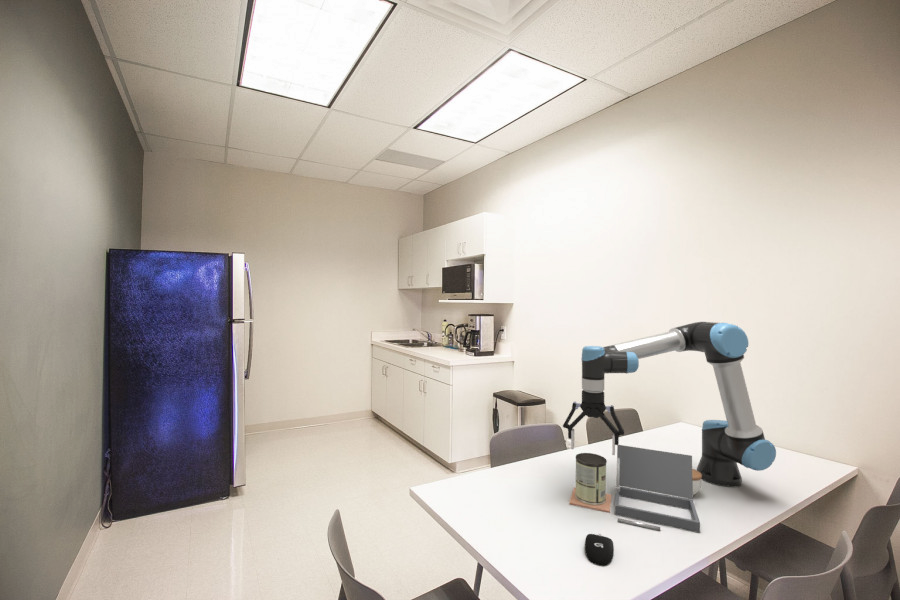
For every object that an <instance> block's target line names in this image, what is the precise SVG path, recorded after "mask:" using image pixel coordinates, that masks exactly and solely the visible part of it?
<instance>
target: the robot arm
mask: <svg viewBox="0 0 900 600" xmlns="http://www.w3.org/2000/svg"><path fill="white" fill-rule="evenodd" d="M748 347H749V338H748V336H747V333H746V332H745V331H744V330H743V329H742V328H741V327H739V326H738V325H736V324H733V323H732V324H731V323H727V322H713V321H712V322H711V321H710V322H709V321H696V322H692V323H688V324H684V325H683V324H682V325H680V326H675V327H671V328H670V329H669V330H668V331H666V332H662V333H658V334H654V335H653V334H652V335H649V336H645V337H641V338H637V339H634V340H628V341H625V342H620V343H615V344H613V345H606V346H599V345H585V346H584V347H583V348H582V350H581V351H582V352H581V358H580V359H581V389H582V390H581V403H579V402H577V401H573V402H572V405H571V410H570V411H569V414H568V415H567V417H566V419H565V421H564V423H563V424H562V427H563V428H565V429H567V434H568V435H567V437H568V439H569V440H571V441H570V443H571V445H570V449H571V450H574V449H575V428H574V427H576V426H577V424H579V423H580V422H581V421H582V419H583V418H584V417H588V418H595V419H598V418H600V419H601V420H602V421H603V423H604V424H605V425H606V426H607V428H609V430H610V432H612V444H611V445H612V447H611V448H612V451H611V452H612V453H611V454H612V456H615V455H616V446H617V445H620V444H619V443H620V442H619V441H620V440H619V438H620V437H619V436H623V435H625V429H624V428H623V426H622V424H621V421H620V420H619V418H618V416H617V414H616V411H615V406H614V405H613V404H612V405H606V404H605V392H604V391H605V374H632V373H635V372H637V371H638V370H639V366H640V365H639V363H640V362H639V360H641V359H644V358H645V359H646V358H650V357H653V356H658V355H662V354H666V353H670V352H674V351H675V352H678V353H681V352H686V351H688V352H689V351H691V352H693V351H694V352H700V353H704V356H705V360H706V363H708V364H710V365H712V367H713V371H714V376H715V380H716V383H717V387H718V392H719V395H720V398H721V403H722V408H723V411H724V415H725V416H724V417H725V418H726V420H720V419H706V420H704V421H703V422H702V427H701V428H702V429H701V456H700V459H699V462H698V465H697V467H696V470H697V471H698V472H700V473H701V474H702V478H701V481H702V480H703V481H705V482H707V483H709V484H710V483H711V484H713V485H717V486H722V487H728V488H729V487H731V488H735V487H740V486H741V485H743V483H742V482H743V481H742V480H743V476H742V475H741V471H740V469H739V466H738V464H739V465H741V466H743V467H744V468H747V469H751V470H753V471H758V472H759V471H760V472H761V471H765V470H767V469H768V468H770V467H771V466H772V465H773V463H774V462H775V459H776V458H777V457H776V456H777V449H776V446H775V445H774V444H773V442H771V441H770V440H767V439H766V437H765V434H764V430H763V428H762V427H760V426H759V425H757V424H756V419H755V416H754V415H755V414H754V410H753V407H752V403H751V399H750V394H749V392H748V387H747V384H746V380H745V376H744V372H743V368H742V364H741V362H742V361H743V360H744V359H745V354H746V352H747V350H748V349H747V348H748ZM579 408H580V409H581V410H582V412H580V414H579V415H578V416H577V417H576V418H575V419H574V420H573V421H572V422H571V423H570V421H571V419H572V417H573V416H574V413H575V411H576V410H578V409H579ZM606 410H607V412H608V413H610V416H611V417H612V420H613V421H614V423H615V426H614V424H613V423H612V422H611V421H610V419H609V418H608V417H607V416H606V414H605V411H606ZM569 423H570V424H569ZM616 427H617V428H616ZM617 429H618V430H617Z"/></svg>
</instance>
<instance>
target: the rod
mask: <svg viewBox="0 0 900 600" xmlns="http://www.w3.org/2000/svg"><path fill="white" fill-rule="evenodd" d="M617 522H619V523H623V524H627V525H632V526H637V527H642V528H645V529H650V530H655V531H659V532H660V531H661V527H660V526H658V525H657V526H656V525H652V524H647V523H643V522H638V521H633V520H629V519H623V518H619V517H618V518H617Z"/></svg>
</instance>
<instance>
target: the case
mask: <svg viewBox="0 0 900 600" xmlns="http://www.w3.org/2000/svg"><path fill="white" fill-rule="evenodd" d="M616 446H617V447H616V448H617V449H616V451H617V452H616V453H617V454H616V457H617V458H616V480H615V481H616V483H615V484H616V485H615V486H614V491H615V502H614V515H615V516H618V517H624V518H629V519H634V520H638V521H643V522H647V523H652V524H656V525H660V526H661V525H662V526H666V527H671V528H676V529H680V530H683V531H684V530H685V531H689V532H695V533H698V534H700V533H701V522H700V518H699V514H698V513H697V509H696V507H695V506H696V505H695V504H694V497H693V480H692V469H693V455H690V454H683V453H677V452H670V451H663V450H655V449H649V448H642V447H638V446H637V447H636V446H628V445H622V444H618V445H616ZM620 497H623V498H628V499H633V500H639V501H643V502H648V503H654V504H659V505H664V506H670V507H675V508H679V509H685V510H688V511H689V512H690V515H691V519H689V518H685V517H679V516H675V515H669V514H665V513H660V512H654V511H651V510H644V509H642V508H641V509H640V508H637V507H636V508H635V507H630V506H625V505H620Z"/></svg>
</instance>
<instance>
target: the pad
mask: <svg viewBox="0 0 900 600" xmlns="http://www.w3.org/2000/svg"><path fill="white" fill-rule="evenodd" d="M575 493H576V486H575V487H573V490H572V493H571V496H570V500H569V503H568V504H569V505H571V506H576V507H580V508H584V509H585V508H586V509H590V510H594V511H600V512H605V513H608V514H610V513H611V506H612V505H611V503H612V494H611V493H607V492H606V502H605V503H604V504H601V505H590V504H586V503H583V502H581V501H579V500H578V499H577V498H576V497H575Z"/></svg>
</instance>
